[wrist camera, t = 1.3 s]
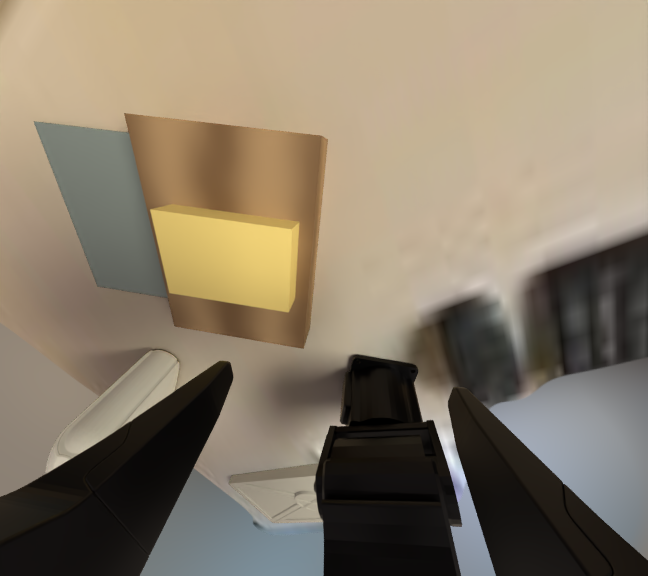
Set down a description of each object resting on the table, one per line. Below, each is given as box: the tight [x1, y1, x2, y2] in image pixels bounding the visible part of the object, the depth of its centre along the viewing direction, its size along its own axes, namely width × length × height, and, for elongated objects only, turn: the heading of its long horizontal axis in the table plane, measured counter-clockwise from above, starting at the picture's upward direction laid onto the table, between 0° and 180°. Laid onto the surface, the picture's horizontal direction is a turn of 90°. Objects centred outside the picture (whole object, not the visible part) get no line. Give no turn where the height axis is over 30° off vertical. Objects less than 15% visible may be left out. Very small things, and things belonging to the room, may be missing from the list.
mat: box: [34, 122, 168, 298], centre depth 21 cm, size 10×14×1 cm
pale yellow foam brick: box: [150, 204, 299, 313], centre depth 17 cm, size 9×6×2 cm, turn 84°
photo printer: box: [45, 350, 179, 474], centre depth 25 cm, size 10×4×12 cm, turn 154°
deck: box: [124, 113, 328, 349], centre depth 19 cm, size 12×16×3 cm
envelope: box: [229, 463, 323, 523], centre depth 39 cm, size 24×2×14 cm
